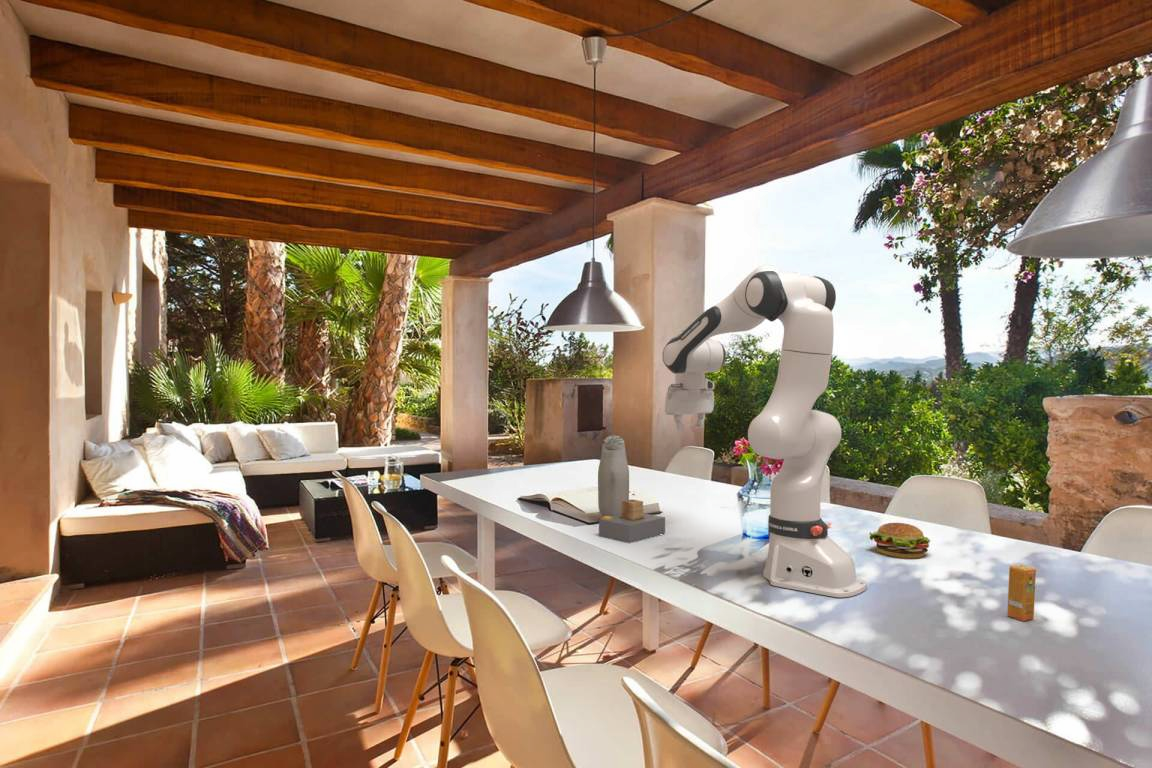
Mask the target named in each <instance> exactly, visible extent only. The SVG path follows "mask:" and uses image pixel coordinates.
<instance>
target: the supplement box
mask: <svg viewBox="0 0 1152 768" xmlns="http://www.w3.org/2000/svg"><path fill="white" fill-rule="evenodd" d="M1008 569H1009V571H1008V572H1009V573H1008V574H1009V575H1008V591H1007V592H1008V593H1007V616H1008V617H1010V618H1012V619H1015V620H1018V621H1020V622H1026V621H1031V620H1034V619H1035V618H1034V616H1035V613H1034V612H1035V596H1036V595H1035V593H1036V574H1037V569H1036V568H1034V567H1031V566H1028V565H1025V564H1021V563H1019V564H1015V565H1010V566H1009V568H1008Z"/></svg>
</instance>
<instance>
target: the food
mask: <svg viewBox="0 0 1152 768" xmlns="http://www.w3.org/2000/svg"><path fill="white" fill-rule="evenodd" d="M869 539H870V540H871V541H874V542H875V543H876V544H875V545H876V546H875V547H876V548H875V549H876V551H877V553H880V554H881V555H884V556H887V555H888V556H887V557H892V558H900V559H918V558H922V557H924V556H925V554H926V552H928V549H929V547H930V543H931V541H932V540H930V538H928V537H926V536H925V535H924V533H923V531H922V530H921V529H920V528H919V527H917V526H916V525H913V524H909V523H904V522H888V523H884V524H882V525H880V526H879V527H878V530H876V531H874V532H873V533H871V531H870V532H869Z"/></svg>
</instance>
